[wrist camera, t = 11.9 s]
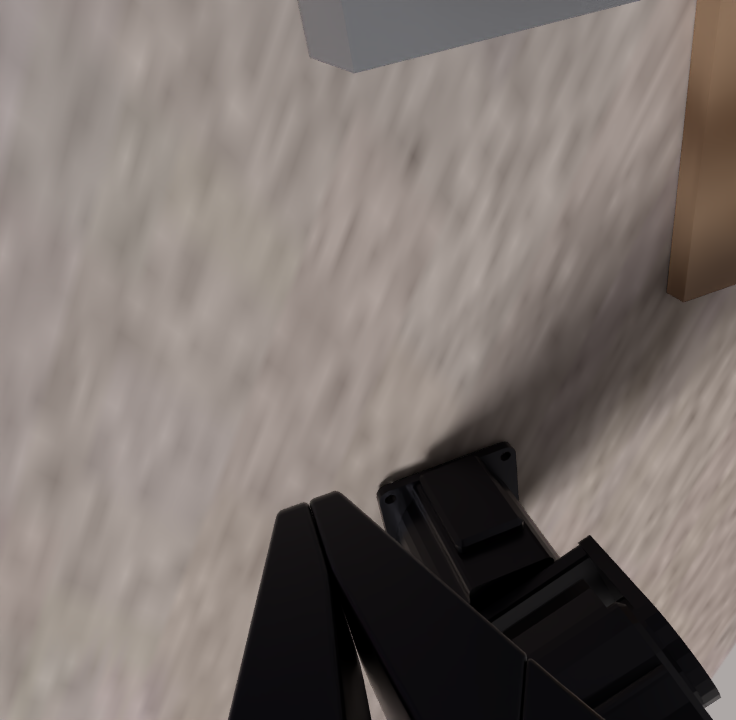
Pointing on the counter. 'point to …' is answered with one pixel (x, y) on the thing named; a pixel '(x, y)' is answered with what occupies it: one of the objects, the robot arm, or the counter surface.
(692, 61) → the holster
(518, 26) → the socket block
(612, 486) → the counter surface
